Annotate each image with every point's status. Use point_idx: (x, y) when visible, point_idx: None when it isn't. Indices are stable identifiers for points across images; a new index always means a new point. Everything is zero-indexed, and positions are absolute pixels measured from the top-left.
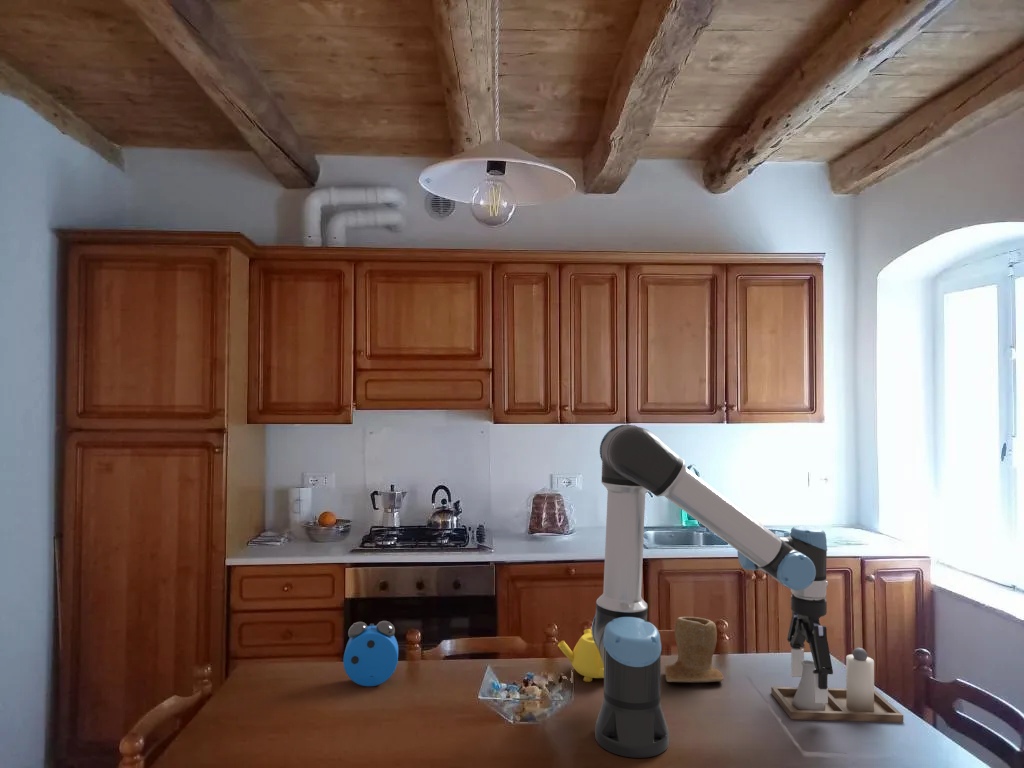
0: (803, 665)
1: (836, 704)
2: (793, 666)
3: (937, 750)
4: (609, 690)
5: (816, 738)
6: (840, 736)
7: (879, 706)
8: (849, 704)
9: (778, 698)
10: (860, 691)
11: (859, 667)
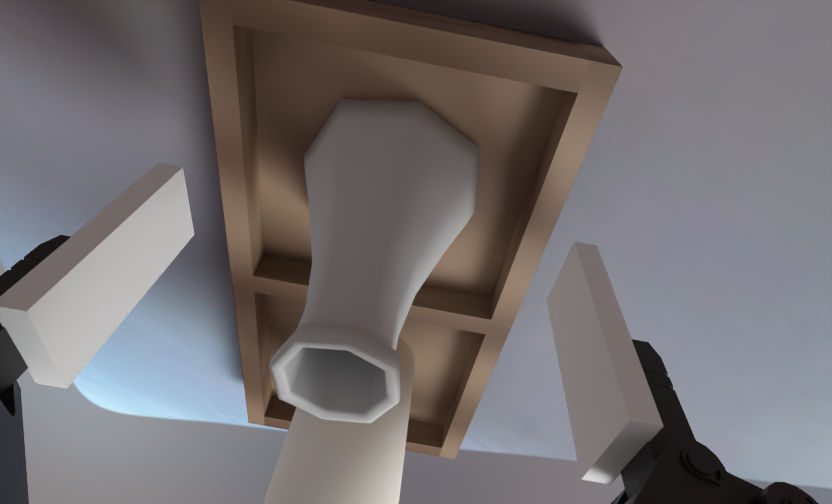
0: (322, 325)
1: None
2: (588, 299)
3: (115, 377)
4: None
5: (58, 23)
6: (123, 160)
7: None
8: None
9: (465, 30)
10: (295, 414)
11: None
